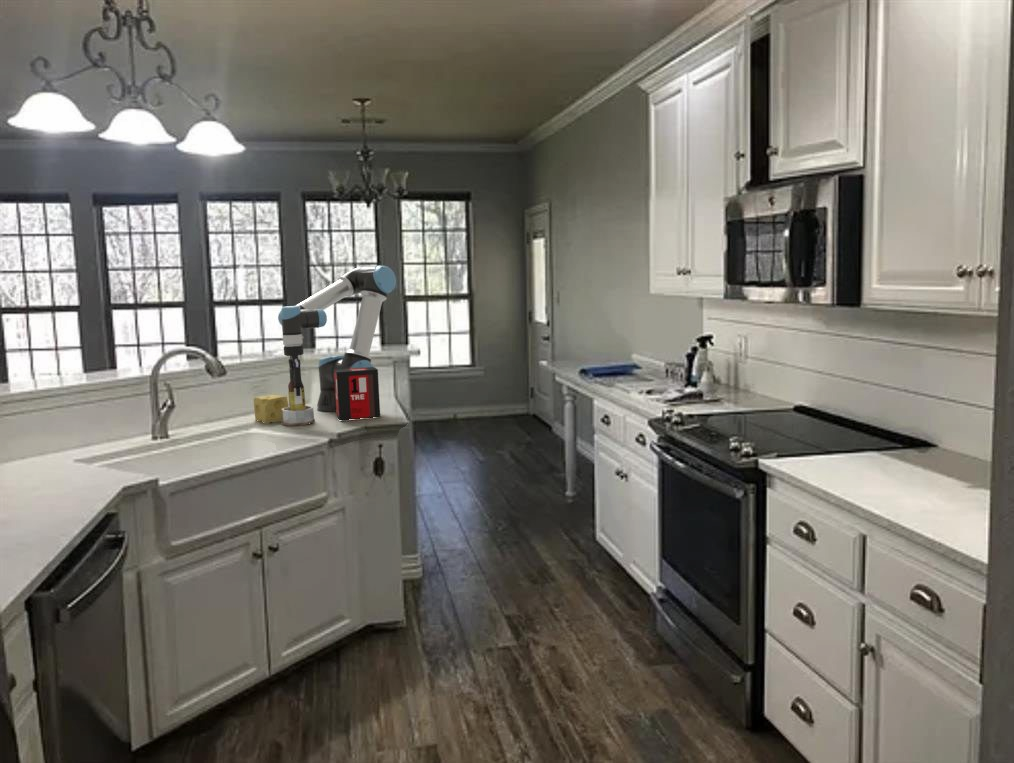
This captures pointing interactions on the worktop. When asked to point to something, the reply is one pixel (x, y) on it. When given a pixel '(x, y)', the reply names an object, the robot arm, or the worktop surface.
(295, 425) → the duct base
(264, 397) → the cheese
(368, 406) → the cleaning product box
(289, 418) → the collar
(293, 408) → the sauce bottle
